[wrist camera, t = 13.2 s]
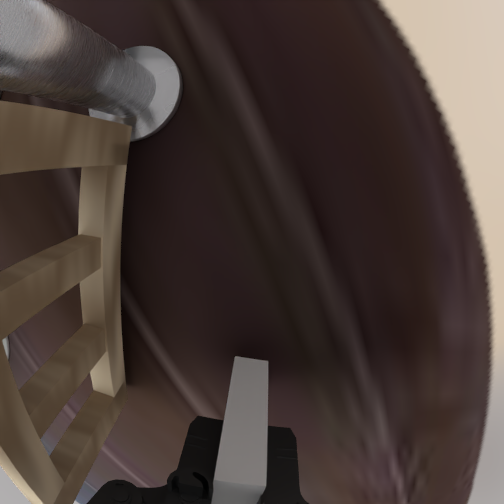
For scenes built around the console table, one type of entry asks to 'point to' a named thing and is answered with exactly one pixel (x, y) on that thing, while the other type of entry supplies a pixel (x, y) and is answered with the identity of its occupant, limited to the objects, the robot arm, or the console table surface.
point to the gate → (53, 286)
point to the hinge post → (85, 68)
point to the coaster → (6, 346)
